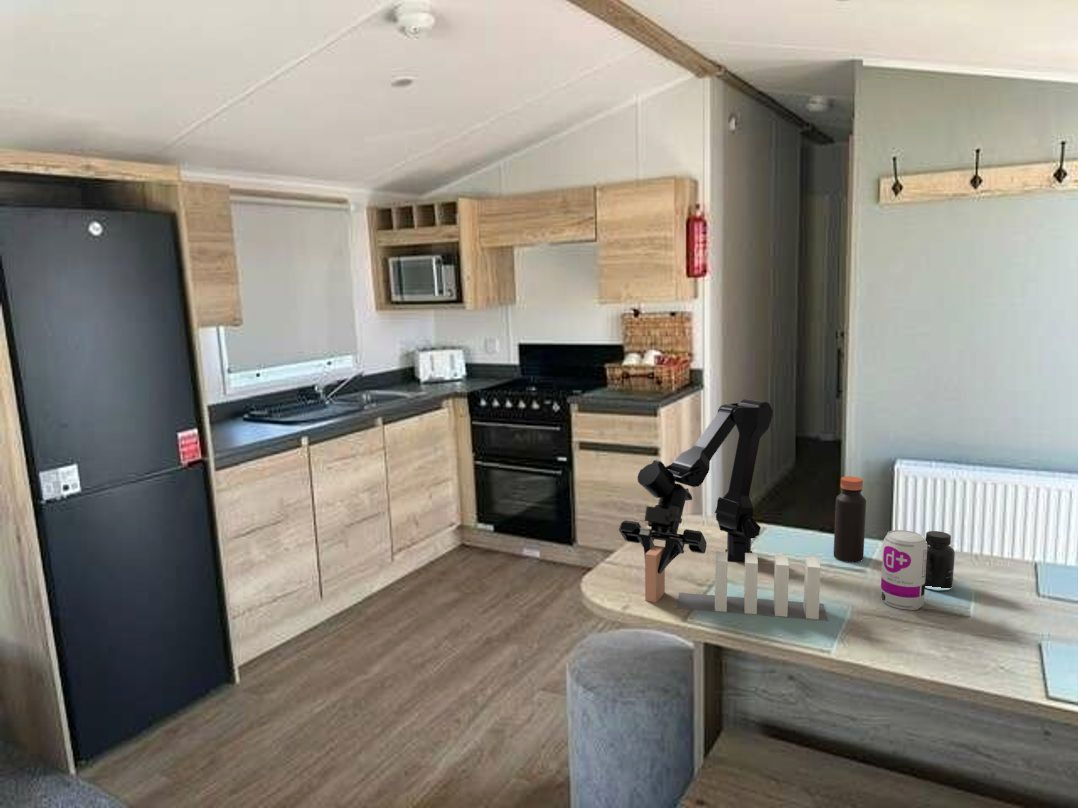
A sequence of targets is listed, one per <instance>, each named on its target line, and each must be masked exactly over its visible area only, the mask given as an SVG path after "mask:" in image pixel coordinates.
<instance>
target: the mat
mask: <svg viewBox="0 0 1078 808" xmlns="http://www.w3.org/2000/svg"><path fill="white" fill-rule="evenodd" d="M803 605H804V601H793V600H788V612H787V617H786V618H789V619H790V618H791V619H801V620H809V619H808V618H806V616H805V611H804V607H803ZM677 609H679V610H691V611H704V612H715V613H723V612H722V611H715V594H714V595H713V594H704V593H703V594H702V593H701V594H700V593H690V592H679V593H678V598H677V604H676V610H677ZM725 613H726V614H727V613H729V614H740V615H742V614H743V615H748V614H747V613H745V611H744V596H743V597H741V596H731V595H730V596H729V595H727V612H725ZM750 615H753V616H764V617H765V616H766V617H779V618H785V617H784V616H775V612H774V599H767V598H766V599H765V598H757V614H750ZM811 620H812V621H813V620H814V621H827V622H828V621H829V618H828V615H827V612H826V607H825V604H824V603H822V602H821V603H820V602H819V619H811Z"/></svg>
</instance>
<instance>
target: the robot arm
mask: <svg viewBox="0 0 1078 808" xmlns="http://www.w3.org/2000/svg"><path fill="white" fill-rule="evenodd" d="M773 411H774V409H773V408H772V406H771V404H770V403H769V402H768V401H763V400H755V399H749V398H744V399H742V400H741V401H739V402H730V403H729V404H728V403H727V404H726V403H724V404H722V405H720V406H719V408H718V409H717V413H716V414H715V416H714V417H713V419H712V420H711V421H710V423H709V424H708V425H707V427H706V428H705V430H704V431H703V432H702V434H701V435H700V437H699V438H697V440H696V442H695V443H694V445H693V446H692V447H691V448H689V449H687V450H685V451H683V452H682V453H680V454H679V455H678V456H677V457H676V458H675V459H674V461H672V463H671V464H669V465H667V466H665V464H664V463H663V462H662V461H661V460H658V459H654V460H653V461H652V463H649V464H647V465H645V466H644V467H643V468H641V469H640V470H639V471H638V473H637V483H638V484H639V485H640V486H642V487H643V488H644V489H645V491H647V492H648V493H649V494H650V495H651V496H653V497H654V498H656V499H659V500H658V502H657V503H658V504H655V506H648V505H647V506H646V507H645V515H644V521H645V522H647V526H648V527H649V528H648V527H647V528H645V527H642V526H641V524H640V522H637V521H631V520H623V521H622V522H621V523H620V525H619V529H618V531H619V533H620V535H621V536H622V537H623V539H624V541H626V542H629V543H635V544H639V543H640V545H641V546H642V548H643V551H644V556H645V554H646V553H647V552H648V551H649V550H650V549H651V548H652V547H653V546H654V545H655V543H654V541H655V540H658V541H662V542H663V541H664V547H665V548H664V551H663V554H662V557H661V560H660V563H659V567H658V573H659V574H661V573H662V571H663V570H664V569H665V570H666V568H667V567H668V565H669V564H670V563H671V562H673V560H674V559H675V558H676V557H677V556H679V555H680V554H681V555H682V554H684V553H685V550H684V549H685V545H688V549H689V550H690V552H691V553H697V554H702V555H703V554H705V553H706V549H707V543H708V542H707V541H706V539H705V536H704V534H703V532H702V531H701V530H693V529H689V528H688V529H686V528H685V529H684V531H683V532H682V534H681V533H678V531H679V526H680V525H681V524H682V521H683V518H682V516H683V511H684V508H685V505H686V501H692V500H693V496H692V494H691V493H690V490H689V488H686V487H684V486H683V485H686V486H688V487H692V488H697V487H700V486H701V485H702V483H704V481H705V479H706V477H707V476H708V474H709V472H710V464H711V463H710V462H711V460H712V458H713V457H714V456H715V454H716V452H717V451H718V449H719V448H720V447H721V446H722V444H723V443H724V441H725V440H726V439H727V437H728V436H729V434H731V432H732V430H733V429H734V427H736V429H737V432H738V438H737V443H736V444H737V445H736V450H735V455H734V461H733V465H732V470H731V476H730V481H729V486H728V491H727V493H725V495H724V496H723V497H720V496H719V497H718V499H717V501H716V504H717V505H716V508H715V511H714V514H715V520H716V521H717V524H718V526H719V528H718V529H719V530H720V531H721V532H725V533H727V534H726V535H727V536H726V537H727V538H726V539H727V540H726V541H727V543H726V547H727V548H726V549H725V551H724V552H728V557H727V561H732V562H733V561H734V562H745V553H753V550H752V540H753V539H756V538H757V537H758V536H759V535H760V532H761V526H760V525H759V523H758V522H757V521H756V520H755V519H754V518H753V517H754V506H753V503H752V501H751V498H750V494H751V487H752V483H753V482H752V481H753V478H754V477H753V476H754V471H755V467H756V461H757V456H758V450H759V445H760V440H761V438H762V436H763V435H764V434H765V433H766V432H767V431H768V430H769V428H770V425H771V421H772V419H773V417H774V416H773V415H774V414H773V413H774V412H773Z"/></svg>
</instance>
